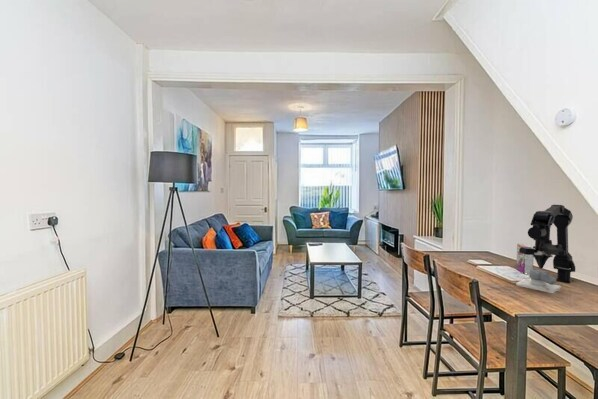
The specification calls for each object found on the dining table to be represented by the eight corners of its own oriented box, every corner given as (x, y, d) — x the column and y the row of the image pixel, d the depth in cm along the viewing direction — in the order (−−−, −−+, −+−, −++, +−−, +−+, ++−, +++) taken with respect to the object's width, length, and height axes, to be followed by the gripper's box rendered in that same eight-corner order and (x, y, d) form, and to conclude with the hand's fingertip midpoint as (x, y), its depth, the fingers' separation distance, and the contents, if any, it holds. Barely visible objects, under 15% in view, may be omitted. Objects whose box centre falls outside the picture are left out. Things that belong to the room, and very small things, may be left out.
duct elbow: (526, 275, 178) (526, 268, 178) (542, 276, 177) (542, 269, 177) (542, 284, 163) (543, 276, 163) (560, 285, 162) (561, 277, 162)
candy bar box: (515, 269, 208) (516, 243, 208) (524, 269, 207) (525, 243, 207) (523, 274, 198) (525, 246, 197) (533, 274, 196) (534, 247, 196)
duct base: (525, 280, 184) (525, 273, 184) (560, 288, 172) (561, 280, 172) (516, 285, 176) (516, 277, 176) (552, 293, 164) (553, 285, 163)
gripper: (534, 239, 157) (532, 272, 157) (574, 240, 156) (573, 273, 157) (519, 235, 168) (517, 266, 169) (557, 236, 167) (555, 267, 168)
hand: (540, 268), depth 165 cm, fingers closed
